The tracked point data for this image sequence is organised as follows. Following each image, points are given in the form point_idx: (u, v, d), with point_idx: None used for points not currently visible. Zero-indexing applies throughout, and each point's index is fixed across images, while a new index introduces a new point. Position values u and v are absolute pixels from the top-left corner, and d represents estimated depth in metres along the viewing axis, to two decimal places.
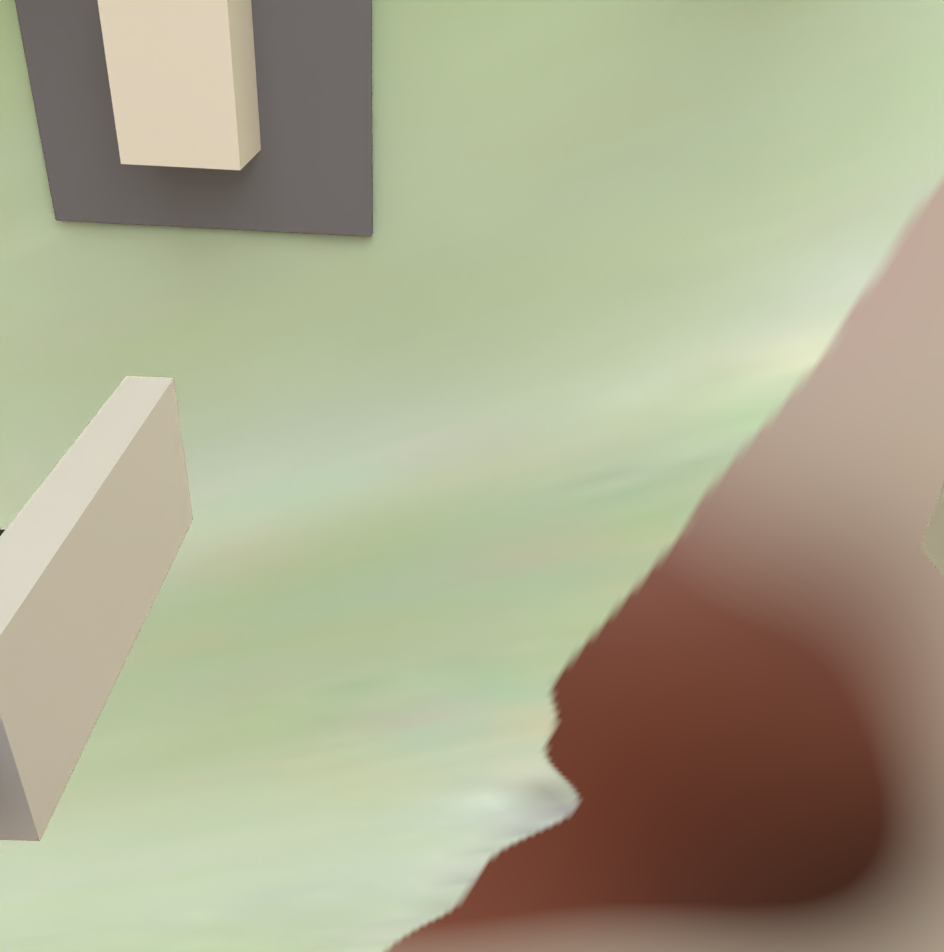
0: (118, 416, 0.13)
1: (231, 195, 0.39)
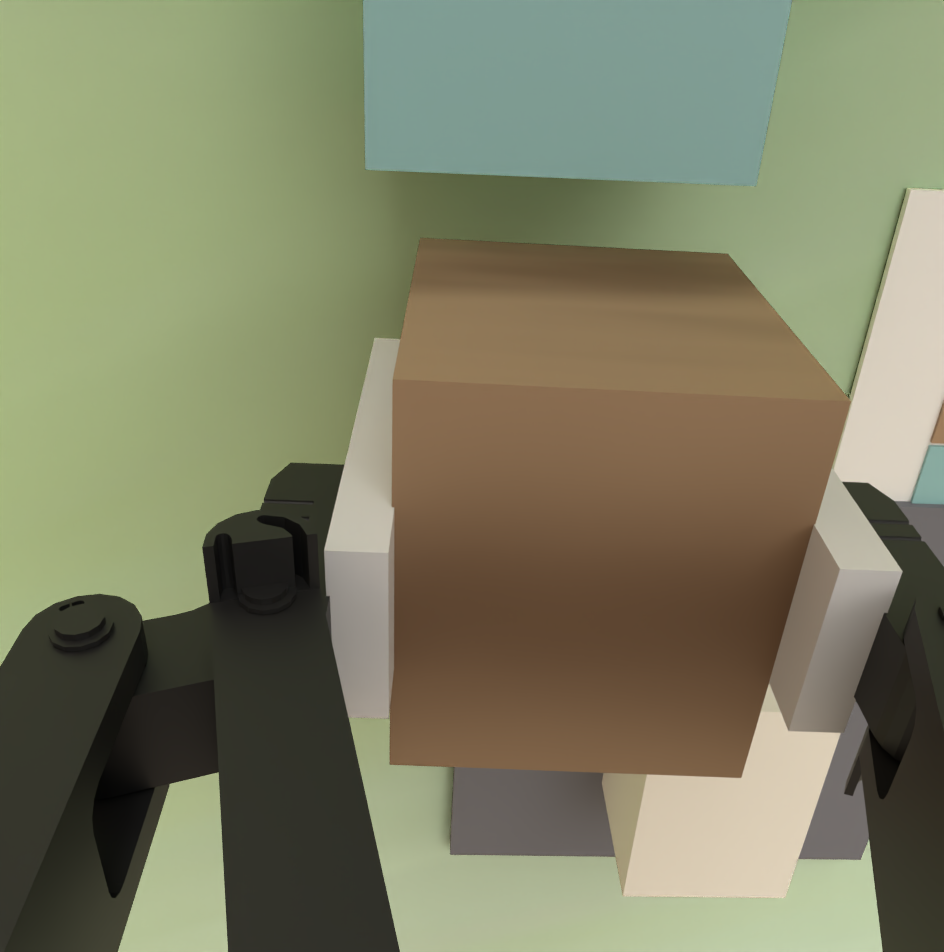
0: (386, 370, 0.15)
1: None
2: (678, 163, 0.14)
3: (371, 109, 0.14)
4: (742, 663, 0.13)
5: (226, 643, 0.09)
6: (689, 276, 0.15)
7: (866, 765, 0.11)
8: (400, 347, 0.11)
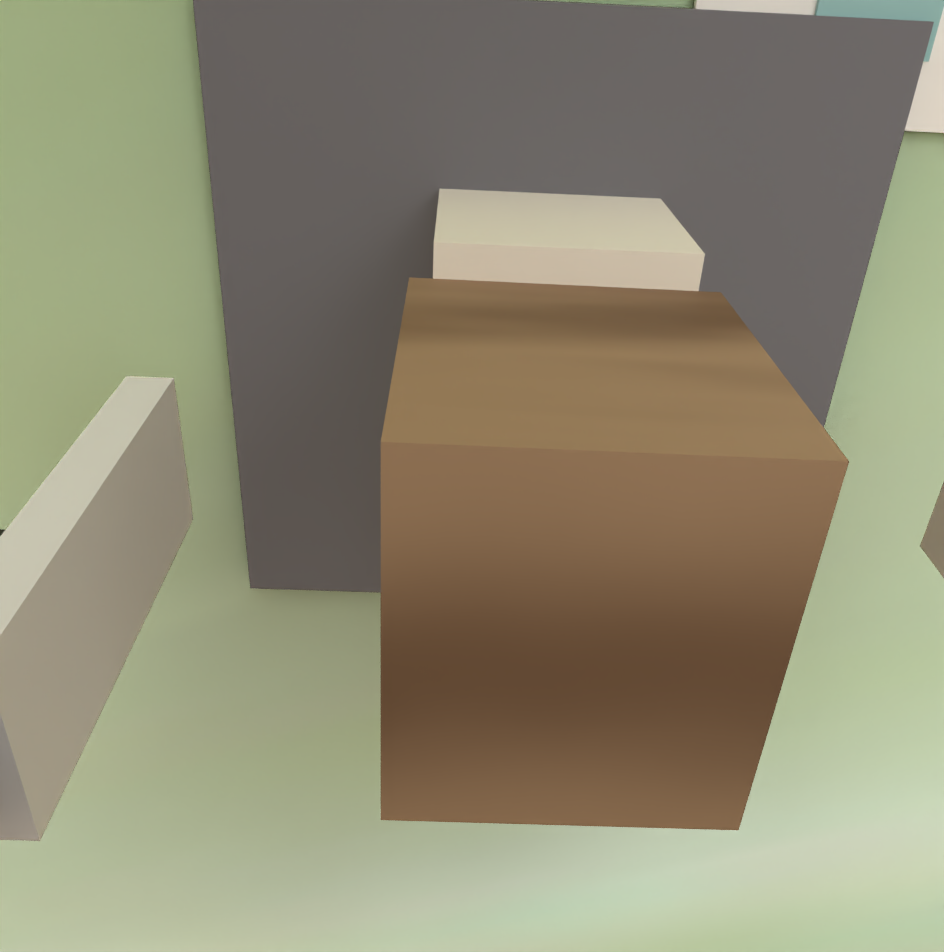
0: (117, 416, 0.13)
1: None
2: None
3: None
4: (739, 718, 0.12)
5: None
6: (682, 318, 0.14)
7: None
8: (389, 404, 0.11)
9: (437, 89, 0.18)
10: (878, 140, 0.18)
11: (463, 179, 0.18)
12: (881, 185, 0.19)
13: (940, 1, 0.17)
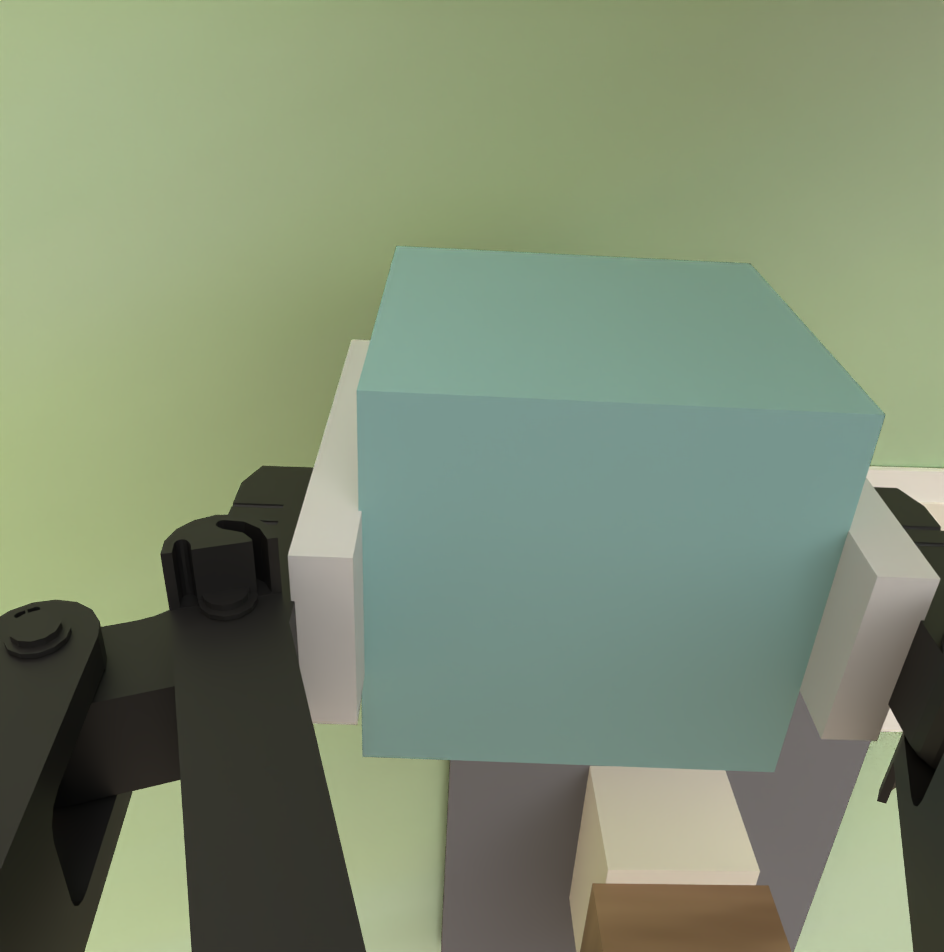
0: None
1: None
2: (692, 755, 0.13)
3: (369, 714, 0.13)
4: None
5: (187, 650, 0.09)
6: (750, 928, 0.26)
7: (901, 772, 0.11)
8: None
9: None
10: (856, 741, 0.30)
11: None
12: (858, 759, 0.30)
13: None
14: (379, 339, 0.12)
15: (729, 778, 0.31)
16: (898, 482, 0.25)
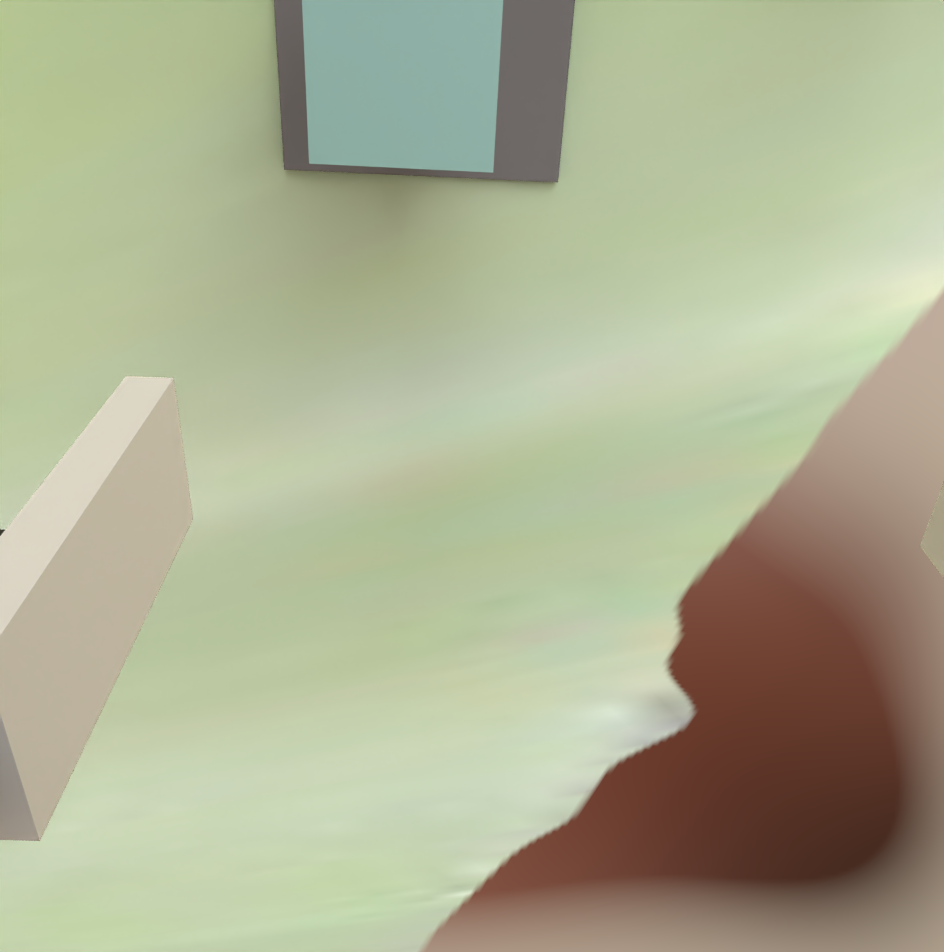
0: (117, 416, 0.13)
1: None
2: (455, 161, 0.30)
3: (311, 136, 0.30)
4: None
5: None
6: None
7: None
8: None
9: None
10: None
11: None
12: None
13: None
14: None
15: None
16: None
